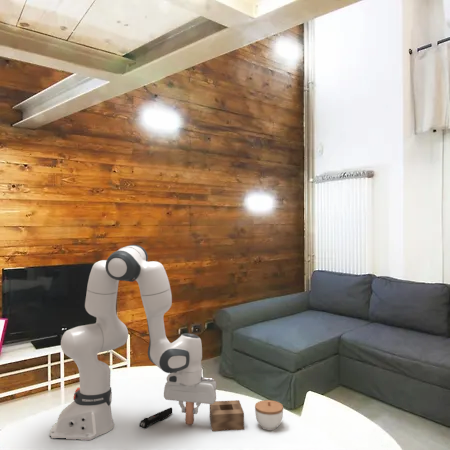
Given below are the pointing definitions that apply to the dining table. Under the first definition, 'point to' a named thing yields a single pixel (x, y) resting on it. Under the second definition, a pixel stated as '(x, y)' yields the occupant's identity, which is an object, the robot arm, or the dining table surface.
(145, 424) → the electric trimmer
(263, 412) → the lidded jar
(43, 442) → the dining table surface
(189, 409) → the peg
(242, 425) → the socket block
